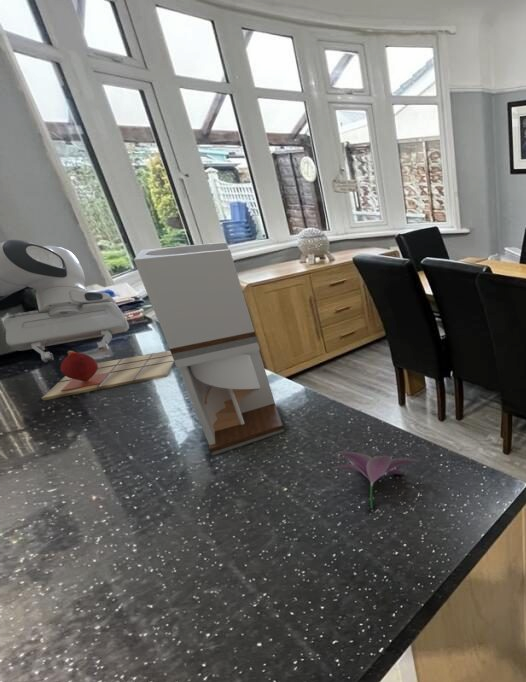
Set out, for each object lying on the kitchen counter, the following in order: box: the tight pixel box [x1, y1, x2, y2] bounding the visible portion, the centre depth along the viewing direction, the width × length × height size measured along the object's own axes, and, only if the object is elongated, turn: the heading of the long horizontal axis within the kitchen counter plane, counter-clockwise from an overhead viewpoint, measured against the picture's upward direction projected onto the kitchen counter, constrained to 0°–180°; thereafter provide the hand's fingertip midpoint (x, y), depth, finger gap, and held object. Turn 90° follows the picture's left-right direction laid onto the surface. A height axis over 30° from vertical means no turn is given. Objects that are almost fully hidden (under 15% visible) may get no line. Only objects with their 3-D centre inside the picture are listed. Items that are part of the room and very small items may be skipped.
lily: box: [331, 450, 422, 509], centre depth 59 cm, size 12×12×10 cm
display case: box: [133, 241, 285, 456], centre depth 69 cm, size 11×11×35 cm
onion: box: [60, 350, 98, 381], centre depth 93 cm, size 6×6×8 cm
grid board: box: [41, 350, 175, 401], centre depth 100 cm, size 22×18×2 cm
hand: (76, 354), depth 94 cm, fingers open, 8 cm apart
